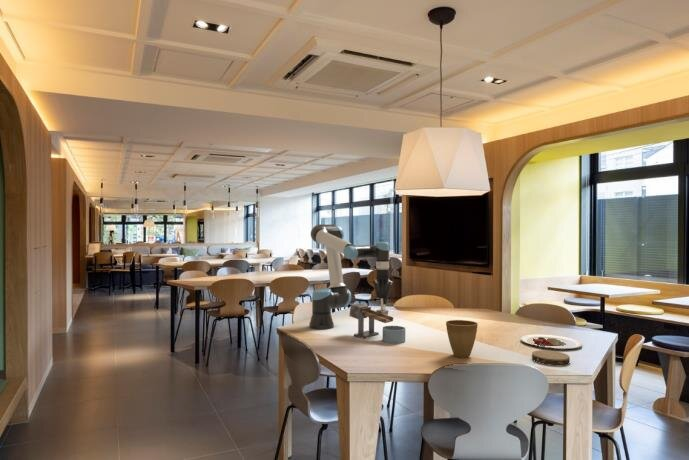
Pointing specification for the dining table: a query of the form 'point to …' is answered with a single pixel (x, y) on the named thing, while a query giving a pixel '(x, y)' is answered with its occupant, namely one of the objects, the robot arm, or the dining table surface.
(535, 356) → the brown round disc
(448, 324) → the plant pot
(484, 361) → the dining table surface
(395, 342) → the cup
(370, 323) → the lever stand
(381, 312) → the lever
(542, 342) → the plated food
